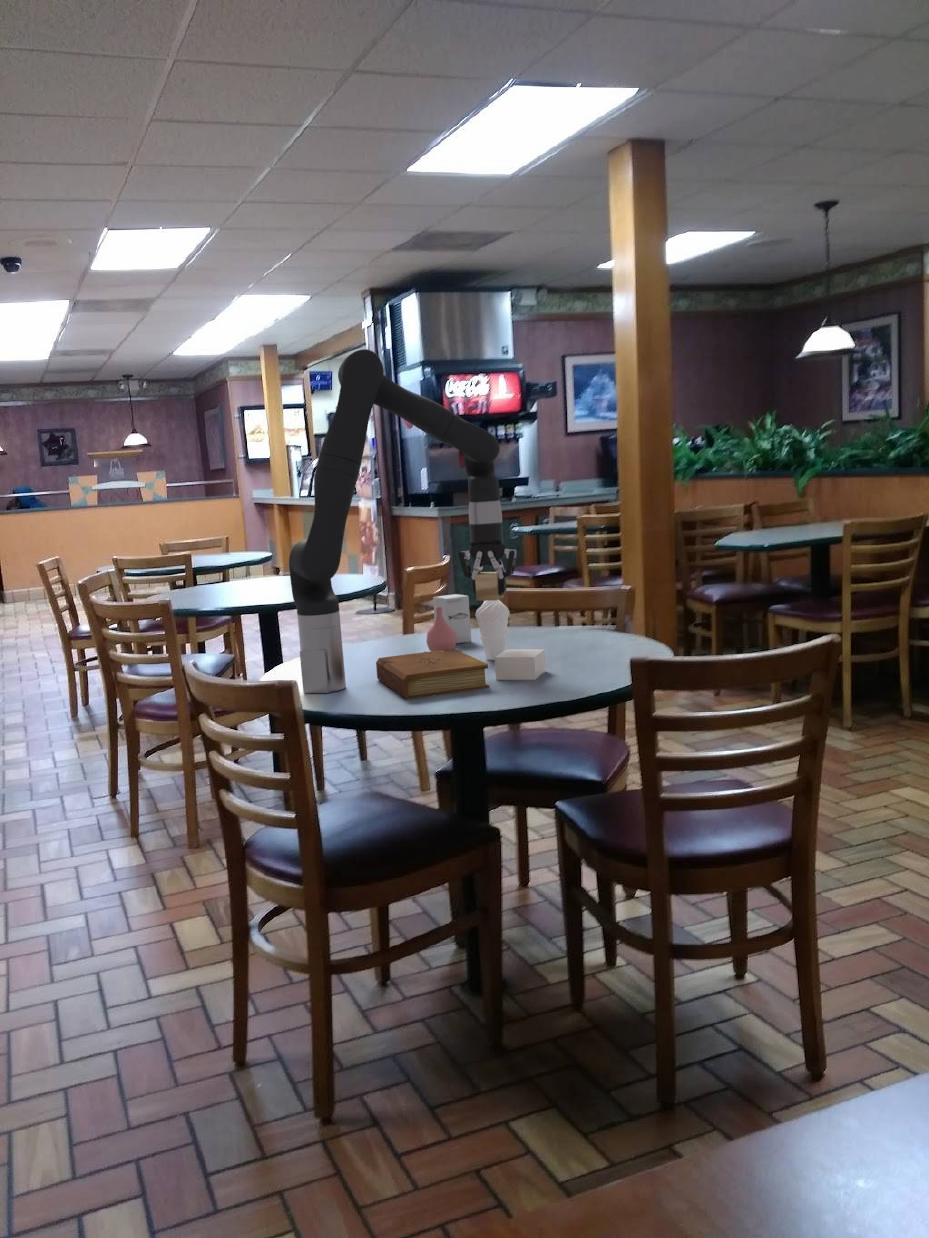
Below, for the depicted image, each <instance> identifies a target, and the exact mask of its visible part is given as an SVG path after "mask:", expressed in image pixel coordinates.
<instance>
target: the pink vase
mask: <svg viewBox="0 0 929 1238" xmlns="http://www.w3.org/2000/svg"><path fill="white" fill-rule="evenodd" d="M436 614H437V617H436V620H435V619H434V622H433V625H432V626H431V628H429V629H428V631H427V633H426V645H427V648H428V651H429V652H430V651H438V650H446V649H453V648H454V649H456V644H457V643H456V636H455V632H454V630H453V629H452V628H451V627H450V626H449V625H448V624H447V623H446V621H445V619H444V618H443V614H442V607H436Z"/></svg>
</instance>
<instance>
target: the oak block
mask: <svg viewBox="0 0 929 1238" xmlns="http://www.w3.org/2000/svg"><path fill="white" fill-rule="evenodd" d="M498 579H499V577H498V574H497V572H496V571H483V572H482V571H481V573H478V574H476V575H475V584H476V594H475V598H476V602H477V601H481V602H482V601H483V602H484V601H490V600H501V599H503V598H504V597H505V594H504V595H499V589H498Z"/></svg>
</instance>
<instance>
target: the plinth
mask: <svg viewBox="0 0 929 1238" xmlns="http://www.w3.org/2000/svg"><path fill="white" fill-rule="evenodd" d="M494 666H495V667H494V668H495V669H494V670H495V680H500V681H501V680H502V681H503V680H505V681H511V680H513V681H517V680H518V681H519V680H520V681H522V680H523V681H532V680H533V681H535V680H537V679H539V678H540V677H541V676H542V675H543V674H545V673H546V672H547V667H546V666H547V665H546V649H545V648H543V649H542V648H541V649H540V648H539V649H538V648H535V649H520V648H519V649H518V648H517V649H514V648H513V649H505V651H503V652H502V653H500V654H499V655H497V656H496V657H495V660H494ZM542 673H543V674H542ZM541 674H542V675H541ZM540 675H541V676H540ZM539 676H540V677H539Z"/></svg>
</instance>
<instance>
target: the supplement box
mask: <svg viewBox="0 0 929 1238" xmlns="http://www.w3.org/2000/svg"><path fill="white" fill-rule="evenodd" d="M469 599H470V598H469V595H466V594H465V595H464V594H460V593H459V594H458V593H455V594H453V593H452V594H446V595H440V596H439V595H438V596H433V597H432V601H433V615H434V616H433V618H434V621H435V620H436V617H437V614H436V607H442V614H443V618H444V619H445V621H446V623H447V624H448V625H449V626H450V627H451V628H452V629H453V630H454V632H455V636H456V644H461V643H463V644H464V643H470V642H472V629H471V617H470V616H471V615H470V614H471V613H470V600H469Z"/></svg>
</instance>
